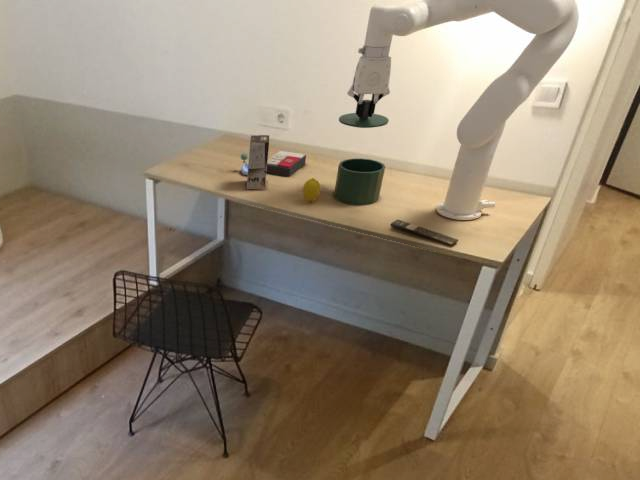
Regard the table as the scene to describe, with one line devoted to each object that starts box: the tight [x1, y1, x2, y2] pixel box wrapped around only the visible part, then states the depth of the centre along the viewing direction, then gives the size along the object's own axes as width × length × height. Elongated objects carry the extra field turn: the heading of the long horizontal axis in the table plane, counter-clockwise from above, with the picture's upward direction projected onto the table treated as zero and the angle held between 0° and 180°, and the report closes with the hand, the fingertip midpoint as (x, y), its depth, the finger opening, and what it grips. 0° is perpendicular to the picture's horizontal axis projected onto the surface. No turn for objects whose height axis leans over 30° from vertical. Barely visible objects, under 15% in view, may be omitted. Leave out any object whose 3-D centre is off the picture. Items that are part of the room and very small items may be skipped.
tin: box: [333, 157, 386, 206], centre depth 204 cm, size 14×14×10 cm
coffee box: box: [246, 134, 270, 191], centre depth 215 cm, size 9×6×16 cm
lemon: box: [302, 177, 321, 203], centre depth 202 cm, size 6×6×8 cm
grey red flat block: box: [266, 150, 307, 177], centre depth 231 cm, size 11×4×15 cm
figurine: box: [240, 152, 249, 176], centre depth 228 cm, size 8×7×7 cm
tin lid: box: [338, 99, 390, 129], centre depth 196 cm, size 15×15×7 cm
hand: (364, 115), depth 197 cm, fingers closed on tin lid, 2 cm apart
